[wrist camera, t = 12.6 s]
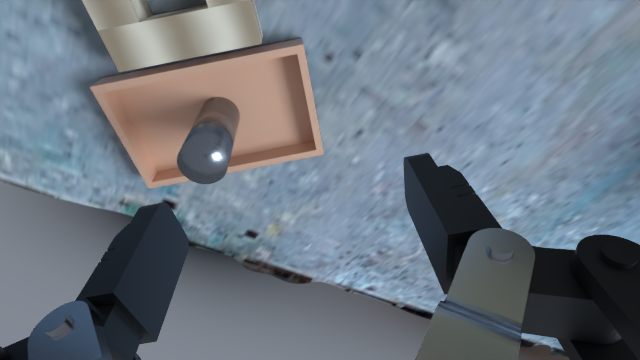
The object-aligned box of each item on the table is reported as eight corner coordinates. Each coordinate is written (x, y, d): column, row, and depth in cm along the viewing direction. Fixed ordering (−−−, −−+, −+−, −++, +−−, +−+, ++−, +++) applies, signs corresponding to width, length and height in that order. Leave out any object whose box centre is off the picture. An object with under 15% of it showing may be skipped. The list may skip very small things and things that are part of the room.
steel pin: (233, 93, 38) (217, 137, 29) (244, 128, 40) (234, 178, 31) (195, 101, 38) (168, 147, 29) (209, 135, 40) (188, 187, 31)
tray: (301, 37, 36) (303, 44, 33) (321, 142, 43) (323, 154, 41) (102, 77, 36) (89, 87, 33) (156, 175, 43) (148, 188, 41)
